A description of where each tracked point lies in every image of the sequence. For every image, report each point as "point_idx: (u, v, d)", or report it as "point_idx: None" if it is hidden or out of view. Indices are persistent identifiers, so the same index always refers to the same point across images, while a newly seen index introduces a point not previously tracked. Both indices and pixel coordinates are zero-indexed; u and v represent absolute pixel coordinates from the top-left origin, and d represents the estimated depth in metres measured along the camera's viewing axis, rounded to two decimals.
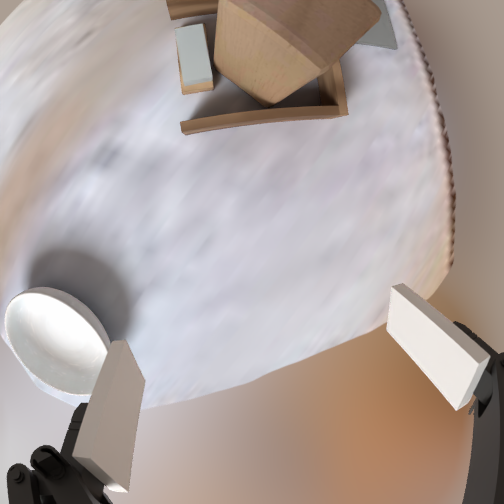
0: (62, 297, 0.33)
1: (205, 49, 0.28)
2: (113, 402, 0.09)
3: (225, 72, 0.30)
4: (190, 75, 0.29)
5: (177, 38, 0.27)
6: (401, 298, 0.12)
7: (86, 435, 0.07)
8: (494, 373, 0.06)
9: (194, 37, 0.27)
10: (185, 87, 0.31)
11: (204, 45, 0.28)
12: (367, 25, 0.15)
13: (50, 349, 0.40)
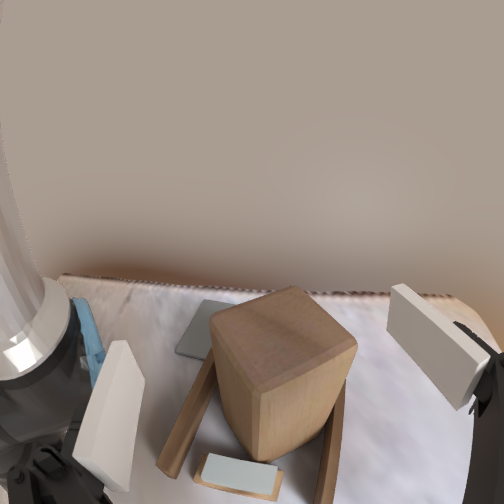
0: None
1: (243, 462, 0.26)
2: (113, 402, 0.09)
3: (275, 456, 0.27)
4: (267, 484, 0.23)
5: (214, 479, 0.24)
6: (401, 298, 0.12)
7: (86, 435, 0.07)
8: (494, 373, 0.06)
9: (223, 465, 0.25)
10: (273, 494, 0.23)
11: (237, 461, 0.26)
12: (312, 299, 0.27)
13: None
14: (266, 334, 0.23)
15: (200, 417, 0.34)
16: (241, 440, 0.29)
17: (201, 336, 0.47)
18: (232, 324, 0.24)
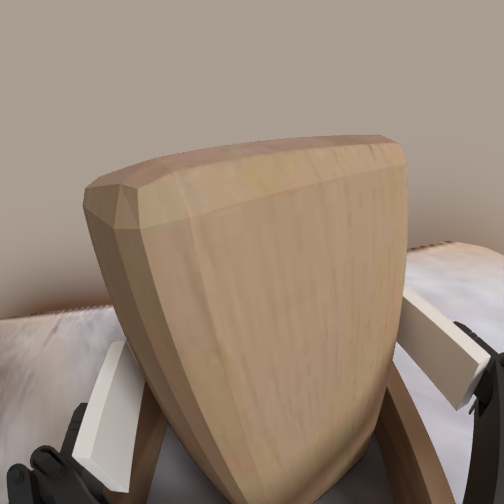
0: None
1: None
2: (113, 402, 0.09)
3: None
4: None
5: None
6: None
7: (86, 435, 0.07)
8: (494, 373, 0.06)
9: None
10: None
11: None
12: None
13: None
14: None
15: (150, 467, 0.16)
16: (220, 490, 0.12)
17: None
18: None
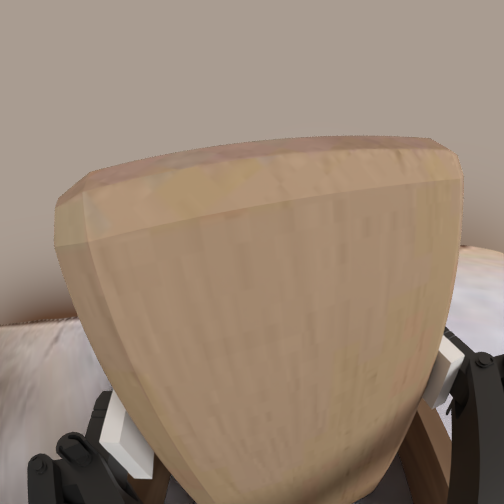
0: None
1: None
2: None
3: None
4: None
5: None
6: None
7: (113, 421, 0.07)
8: (470, 374, 0.07)
9: None
10: None
11: None
12: None
13: None
14: None
15: (160, 496, 0.13)
16: None
17: None
18: None
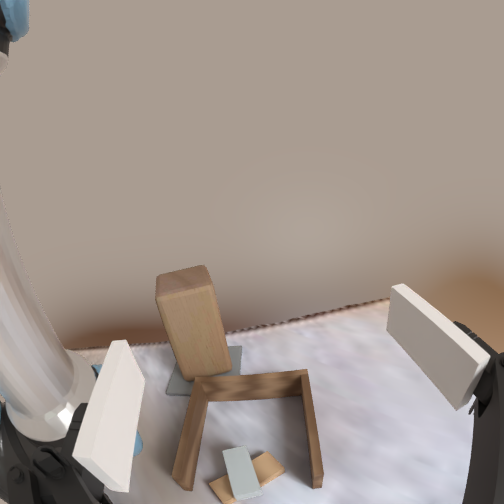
0: None
1: (229, 471, 0.29)
2: (113, 402, 0.09)
3: (193, 371, 0.50)
4: (241, 450, 0.33)
5: (256, 480, 0.28)
6: (401, 298, 0.12)
7: (86, 435, 0.07)
8: (494, 373, 0.06)
9: (240, 482, 0.28)
10: (278, 467, 0.31)
11: (230, 475, 0.29)
12: (205, 269, 0.52)
13: None
14: (173, 280, 0.49)
15: (200, 438, 0.38)
16: None
17: None
18: (162, 277, 0.51)
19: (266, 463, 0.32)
